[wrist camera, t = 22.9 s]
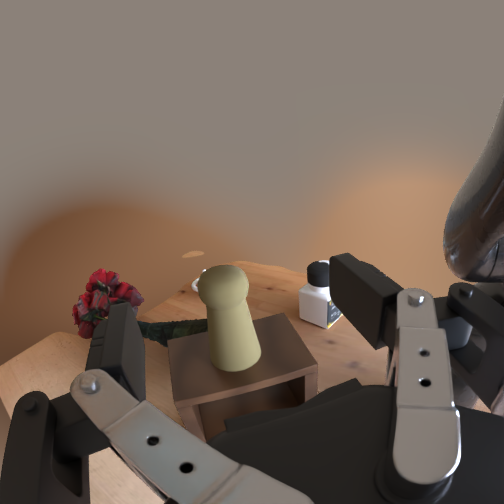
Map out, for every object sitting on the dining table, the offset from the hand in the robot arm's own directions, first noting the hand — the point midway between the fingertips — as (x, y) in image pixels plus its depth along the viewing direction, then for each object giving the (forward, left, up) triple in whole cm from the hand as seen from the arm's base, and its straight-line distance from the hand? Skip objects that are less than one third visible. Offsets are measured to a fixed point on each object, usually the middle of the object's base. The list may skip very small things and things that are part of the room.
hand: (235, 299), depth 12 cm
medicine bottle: (-23, -39, -34) cm, 57 cm away
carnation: (+13, -45, -34) cm, 58 cm away
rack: (-1, -18, -34) cm, 39 cm away
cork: (-1, -18, -19) cm, 26 cm away
